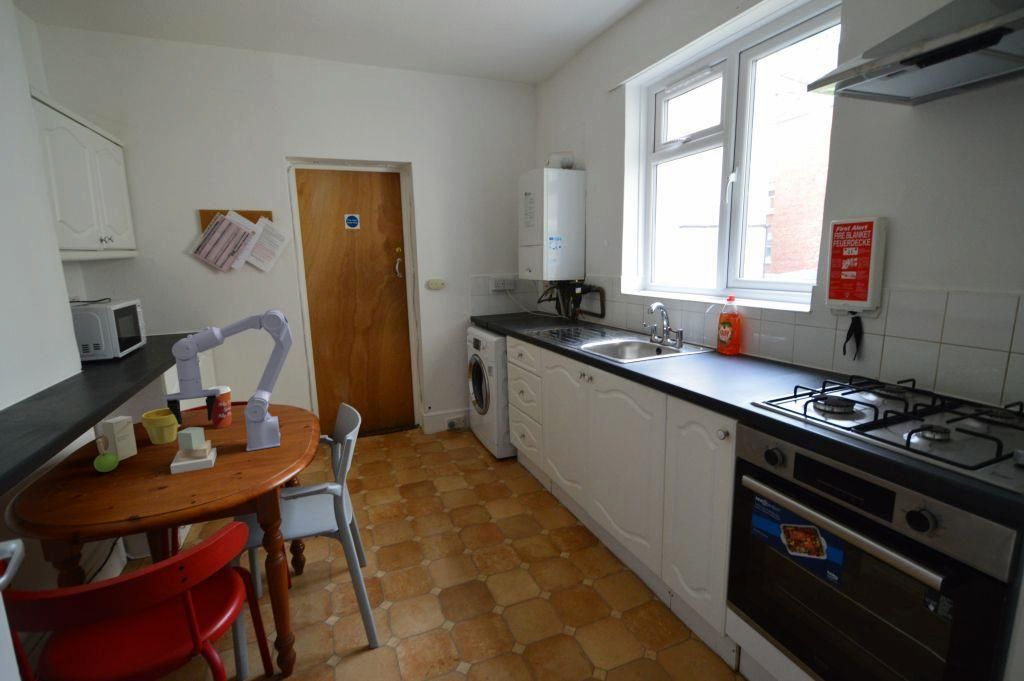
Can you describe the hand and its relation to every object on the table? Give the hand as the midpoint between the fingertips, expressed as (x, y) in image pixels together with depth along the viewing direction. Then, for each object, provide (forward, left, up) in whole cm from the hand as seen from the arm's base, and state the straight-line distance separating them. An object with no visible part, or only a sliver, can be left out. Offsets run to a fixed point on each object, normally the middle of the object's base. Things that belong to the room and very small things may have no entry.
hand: (195, 421), depth 149 cm
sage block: (0, +8, -5) cm, 9 cm away
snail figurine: (+22, +3, -11) cm, 25 cm away
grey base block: (0, +8, -11) cm, 14 cm away
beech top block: (0, +8, -8) cm, 11 cm away
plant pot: (+12, -18, -11) cm, 24 cm away
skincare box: (+21, -8, -11) cm, 25 cm away
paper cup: (-4, -26, -11) cm, 28 cm away
